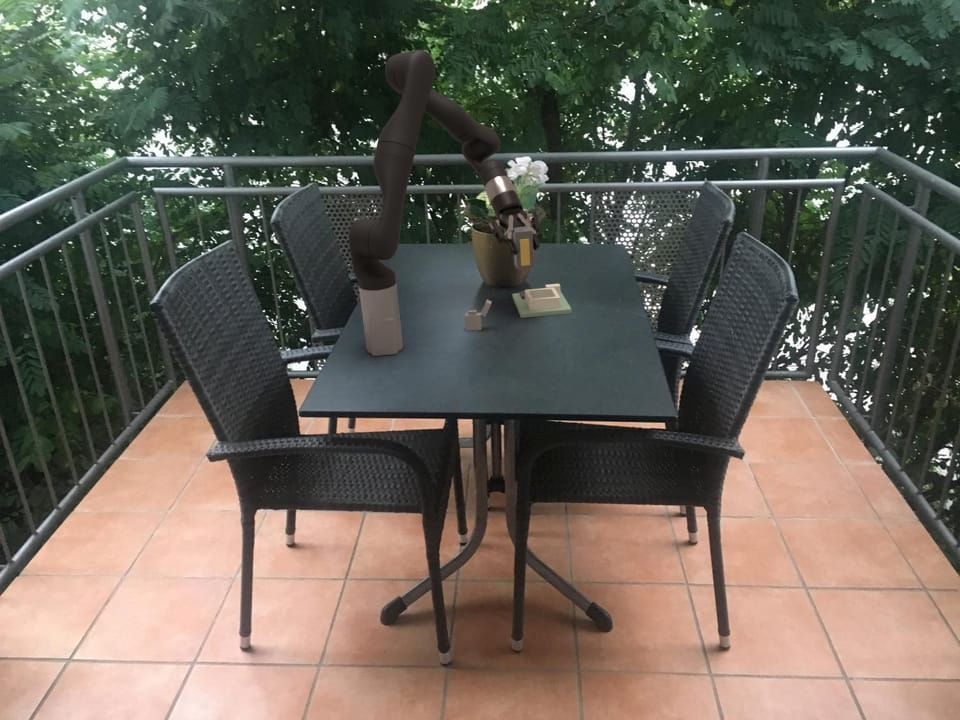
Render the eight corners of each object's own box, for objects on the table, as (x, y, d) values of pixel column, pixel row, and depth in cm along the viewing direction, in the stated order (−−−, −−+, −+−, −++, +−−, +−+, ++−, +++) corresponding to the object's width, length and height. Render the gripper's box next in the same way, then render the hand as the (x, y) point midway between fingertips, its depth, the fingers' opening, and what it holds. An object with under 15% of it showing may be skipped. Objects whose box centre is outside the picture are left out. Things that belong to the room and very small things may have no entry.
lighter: (465, 330, 204) (464, 302, 201) (466, 328, 206) (464, 300, 202) (492, 329, 204) (491, 301, 200) (492, 327, 205) (491, 299, 202)
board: (571, 313, 211) (571, 298, 209) (521, 317, 210) (520, 303, 208) (559, 293, 226) (559, 279, 224) (512, 297, 225) (511, 284, 223)
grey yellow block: (534, 268, 203) (532, 231, 199) (517, 269, 203) (515, 233, 198) (530, 262, 208) (529, 226, 203) (514, 263, 207) (512, 227, 203)
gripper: (483, 194, 200) (507, 249, 196) (531, 184, 206) (555, 238, 201) (475, 209, 207) (498, 263, 203) (522, 200, 213) (545, 253, 208)
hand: (526, 251), depth 202 cm, fingers closed on grey yellow block, 5 cm apart
